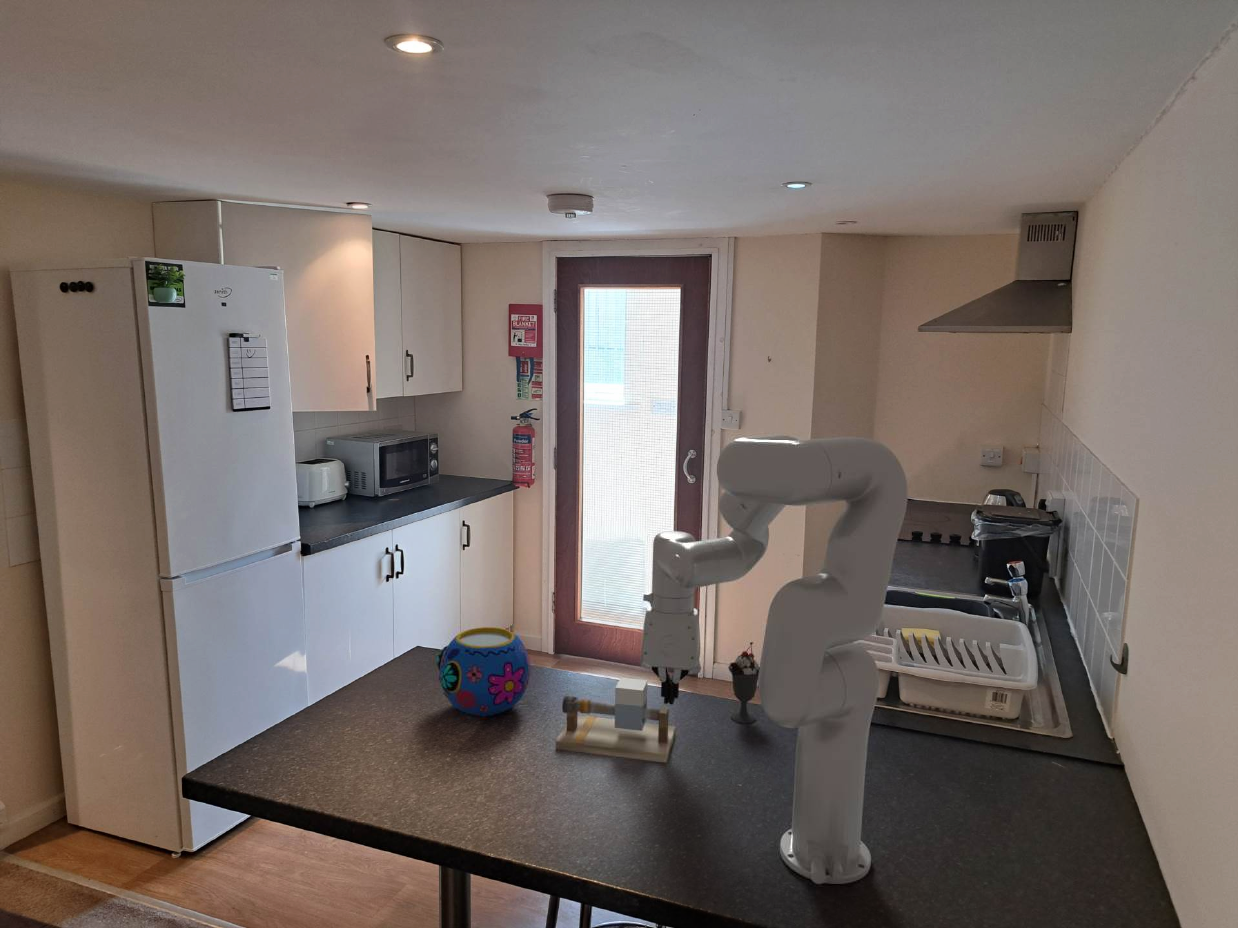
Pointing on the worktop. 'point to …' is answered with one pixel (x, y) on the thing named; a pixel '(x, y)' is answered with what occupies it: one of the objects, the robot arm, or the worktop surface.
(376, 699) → the worktop surface
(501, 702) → the ceramic pot
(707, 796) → the worktop surface
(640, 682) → the sleeve
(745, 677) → the sundae
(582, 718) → the board
